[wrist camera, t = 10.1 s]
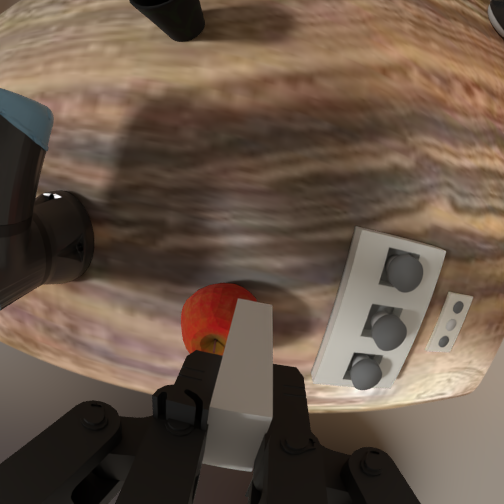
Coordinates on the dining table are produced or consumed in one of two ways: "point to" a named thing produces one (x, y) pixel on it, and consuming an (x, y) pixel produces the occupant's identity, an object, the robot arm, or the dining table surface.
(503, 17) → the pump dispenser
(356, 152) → the dining table surface
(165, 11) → the cup
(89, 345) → the dining table surface
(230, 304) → the apple
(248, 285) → the dining table surface
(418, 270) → the button
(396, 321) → the button
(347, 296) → the board
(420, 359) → the dining table surface
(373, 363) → the button
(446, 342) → the pattern card
